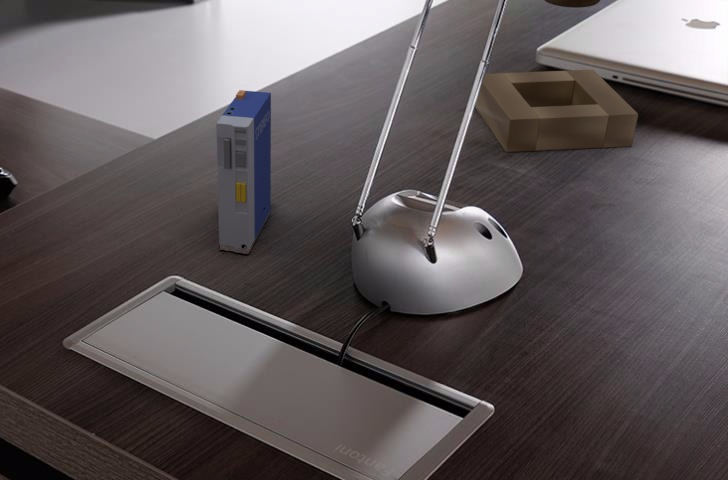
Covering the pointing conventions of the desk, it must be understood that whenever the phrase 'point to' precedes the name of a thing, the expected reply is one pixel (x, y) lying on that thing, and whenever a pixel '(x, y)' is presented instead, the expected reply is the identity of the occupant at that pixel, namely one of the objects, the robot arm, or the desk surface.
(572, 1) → the utensil holder
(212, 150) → the desk surface
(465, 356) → the desk surface
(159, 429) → the desk surface
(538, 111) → the socket pad
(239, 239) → the blue grey plc module
